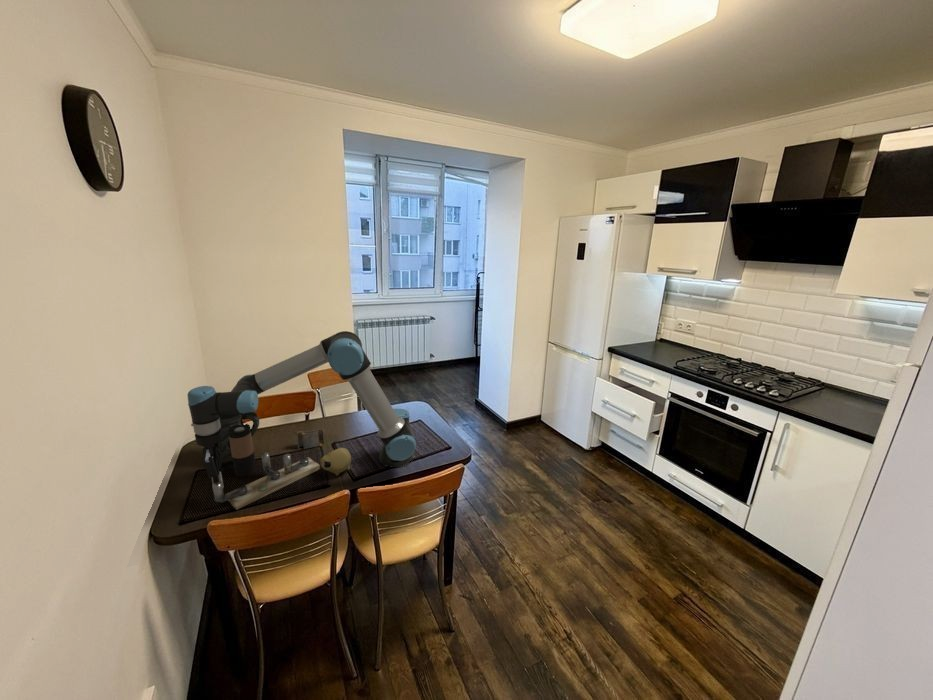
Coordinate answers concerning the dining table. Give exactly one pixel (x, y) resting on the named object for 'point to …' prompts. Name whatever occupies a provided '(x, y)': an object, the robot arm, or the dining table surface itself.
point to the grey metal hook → (269, 466)
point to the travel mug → (242, 449)
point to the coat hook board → (272, 484)
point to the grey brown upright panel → (310, 438)
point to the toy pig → (336, 461)
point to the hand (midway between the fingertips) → (218, 488)
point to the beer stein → (226, 423)
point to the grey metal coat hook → (220, 494)
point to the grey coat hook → (290, 468)
